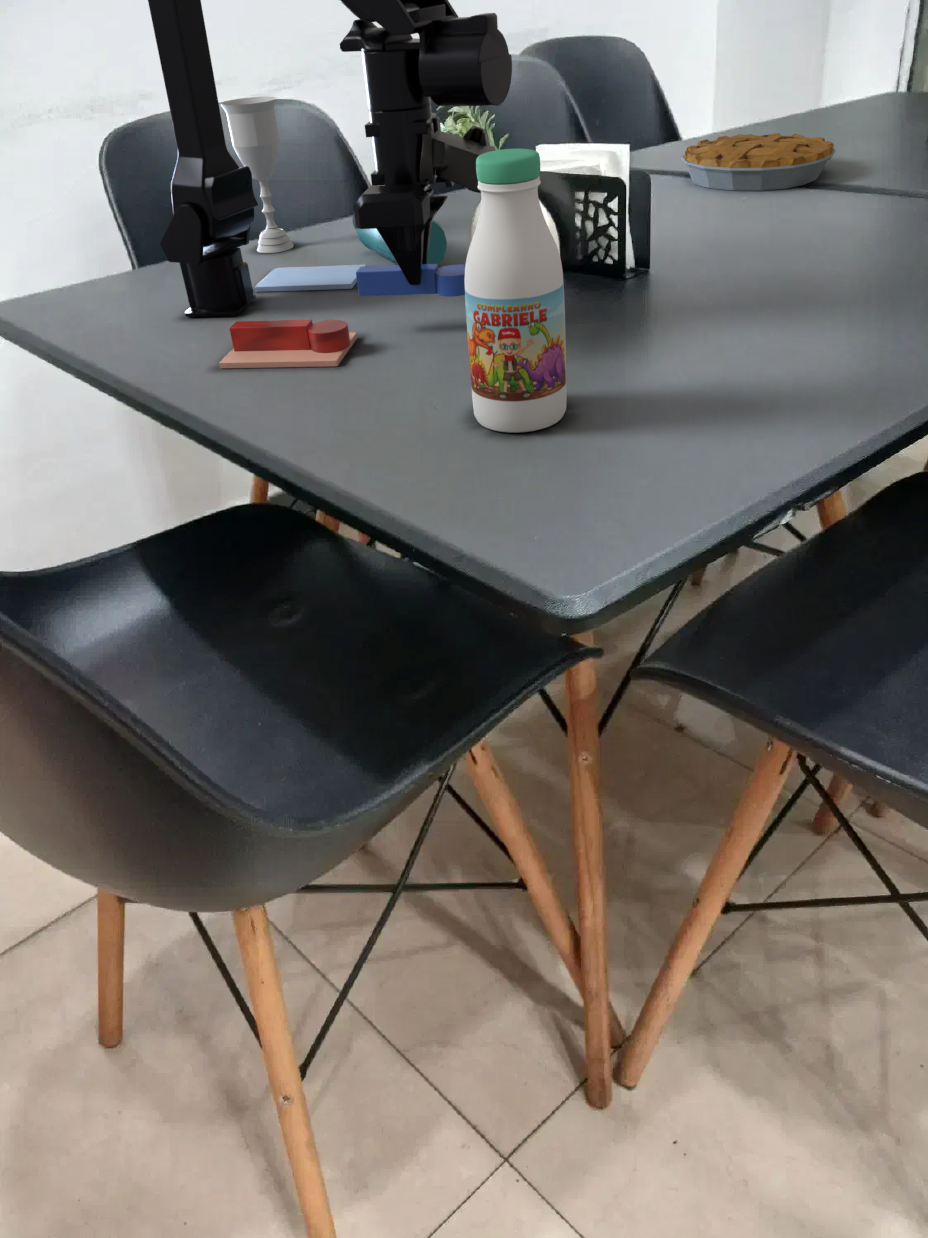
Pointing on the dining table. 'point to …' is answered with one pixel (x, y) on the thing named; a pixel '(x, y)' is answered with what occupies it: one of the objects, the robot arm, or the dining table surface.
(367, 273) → the blue bar with disc
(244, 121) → the chalice
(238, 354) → the pink flat board
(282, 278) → the mat blue
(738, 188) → the pie
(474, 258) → the milk bottle
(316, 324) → the red bar with disc
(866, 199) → the dining table surface
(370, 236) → the beverage bottle
